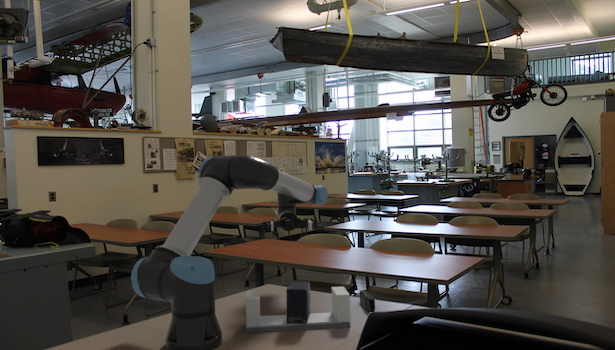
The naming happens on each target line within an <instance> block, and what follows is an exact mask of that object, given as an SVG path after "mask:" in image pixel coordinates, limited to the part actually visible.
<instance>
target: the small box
mask: <svg viewBox="0 0 615 350" xmlns="http://www.w3.org/2000/svg"><path fill="white" fill-rule="evenodd" d="M285 292H286V315H287V323H297V324H306V323H307V321H308V318H309V315H310V314H311V283H310V281H304V280H303V281H301V280H300V281H299V280H291V281H290V282H289V284H288V286H287V288H286V291H285Z"/></svg>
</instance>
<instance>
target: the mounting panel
mask: <svg viewBox="0 0 615 350" xmlns="http://www.w3.org/2000/svg"><path fill="white" fill-rule="evenodd" d="M350 327H351V320H350V321H344V322H337V321H336V319H335V317H334V315H333V313H332V311H330V312H315V313H314V312H313V313H312V312H310V315H309V318H308V321H307V323H306V324H297V323H287V314H276V315H275V314H274V315H260V326H253V327H246V330H245V331H246V333H248V332H249V333H260V332H261V333H265V332H264V331H267V332H278V331H280V332H283V331H285V332H286V331H299V330H302V329H303V330H318V329H319V330H320V329H334V328H338V329H339V328H350Z"/></svg>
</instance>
